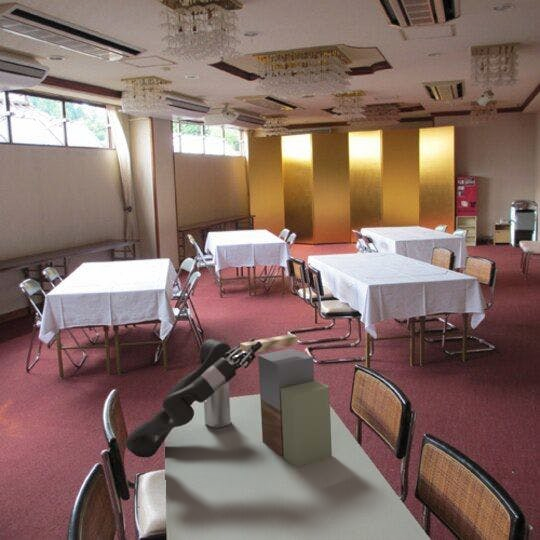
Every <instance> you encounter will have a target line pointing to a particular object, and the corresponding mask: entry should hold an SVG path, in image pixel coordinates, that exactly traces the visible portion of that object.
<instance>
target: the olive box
mask: <svg viewBox="0 0 540 540" xmlns="http://www.w3.org/2000/svg"><path fill="white" fill-rule="evenodd" d="M330 393H331V392H330V386H329V385H327V384H325V383H323V382H320V381H318V380H316V379H314V381H311V382H307V383H303V384H298V385H294V386H290V387H286V388H281V408H282V429H283V451H284V456H283V458H284V459H285V460H286V461H288V462H289V463H291V464H292V465H293V466H295V467H300V466H303V465H307V464H309V463H313V462H316V461H318V460H323V459H326V458H329V457H331V456H333V451H332V450H333V449H332V447H333V446H332V424H331V423H332V421H331V397H330V396H331V395H330Z"/></svg>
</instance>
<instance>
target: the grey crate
mask: <svg viewBox="0 0 540 540" xmlns="http://www.w3.org/2000/svg"><path fill="white" fill-rule="evenodd" d="M257 356H258V357H257V359H258V377H259V379H258V381H259V397H260V399H261V400H263V401H265V402H266V403H268V404H270V405H271V406H273V407H275V408H276V409H278V410H279V411H282V408H281V388H286V387H290V386H294V385H298V384H303V383H307V382H311V381H315V365H314V364H315V361H314V356H313V355H309V354H307V353H305V352H302V351H300V350H297V349H295V348H288V349H282V350H278V351H273V352H267V353H262V354H258V355H257ZM261 400H260V401H261Z"/></svg>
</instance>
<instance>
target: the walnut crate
mask: <svg viewBox="0 0 540 540" xmlns="http://www.w3.org/2000/svg"><path fill="white" fill-rule="evenodd" d="M260 414H261V415H260V416H261V417H260V418H261V437H262V438H261V439H262V443H264V444H265V445H267V446H268V447H269V448H270V449H272V450H273V451H275V452H276V453H277V454H278V455H280V456H282V457H284V451H283V429H282V411H279V410H278V409H276V408H275V407H273V406H271V405H270V404H268V403H266V402H265V401H263V400H261V399H260Z"/></svg>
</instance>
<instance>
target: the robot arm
mask: <svg viewBox="0 0 540 540" xmlns="http://www.w3.org/2000/svg"><path fill="white" fill-rule="evenodd" d="M250 341H255V338H250V339H249V340H248V341H247V342H250ZM261 347H262V344H261V343H260V342H259V341H258V342H256V343H255V344H254V345H253V346H252V347H251V348H249V349H248V350H247V351H242V352H241V349H240V344H238V345H236V346H234V347H233V348H231V346H230V345H229V344H228V343H227V342H225V341H220V340H216V339H212V338H210V339H206V340H204V342H203V343H202V344H201V346H200V350H199V358H200V366H199V367H198V368H196V369H195V370H194V371H192V372H191V373H189V374H187V375H186V376H184V377H183V378H181V379H180V380H178V382H177V383H176V384H174V386H173V387H172V388H171V390H170V391H169V393H167V395H166V397H164V398H163V401H162V404H161V405H162V406H161V407H162V408H161V410H159V411H158V412H157V414H155V415H154V416H153V417H152V418H150V419H148V420H146V421H144V422H143V423H141V424H139V425H138V426H136V427H135V428H134V429H133V430H132V431H130V432H131V433H129V435H128V436H127V438H126V439H125V442H124V446H125V448H126V449H127V450H128V451H129V452H131V453H132V455H134V456H135V457H138V458H150V457H152V456H154V455H155V454H156V453H157V451H158V450H159V449H160V447H161V446H162V445H163V443H164V441H165V440H166V439H167V438H168V436H169V435H170V433H171V432H172V430H173V429H174V428H177V427H182V426H184V425H187V424H189V423H190V422H191V421H192V420H193V419H194V416H195V410H194V409H193V407H192V405H193V404H194V403H195V401H196V402H197V403H200V404H202V403H203V410H204V412H203V414H204V425H206V426H208V427H210V428H215V429H216V428H219V429H220V428H224V427H227V426H229V425H230V424H232V423H231V421H232V420H231V403H230V399H231V398H230V386H229V385H230V384H229V381H231V380H232V379H233V378H235V376H237V370H239V369H240V368H241V367H243V368H244V369H248V367H249V366H250V365H251V364H252V362H253V361H254V360H255V359H256V358H257V356H256V353H255V352H256V351H257V350H259V349H260V348H261ZM247 353H248V354H247Z"/></svg>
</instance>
